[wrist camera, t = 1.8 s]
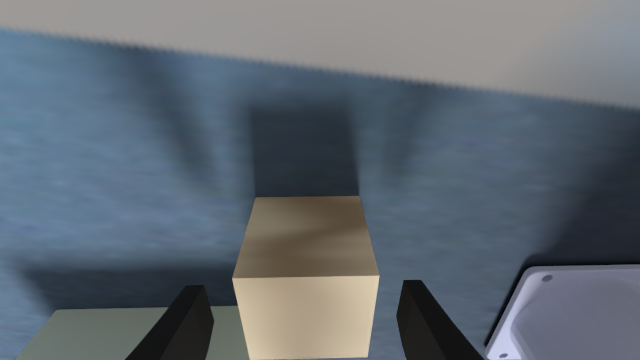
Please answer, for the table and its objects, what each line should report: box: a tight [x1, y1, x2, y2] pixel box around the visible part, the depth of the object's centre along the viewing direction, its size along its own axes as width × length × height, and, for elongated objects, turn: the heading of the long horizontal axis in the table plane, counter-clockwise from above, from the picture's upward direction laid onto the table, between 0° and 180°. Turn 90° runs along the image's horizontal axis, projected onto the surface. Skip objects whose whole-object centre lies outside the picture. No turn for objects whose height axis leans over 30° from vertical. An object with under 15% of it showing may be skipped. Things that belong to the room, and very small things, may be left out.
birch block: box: [232, 196, 379, 360], centre depth 12 cm, size 4×4×4 cm
